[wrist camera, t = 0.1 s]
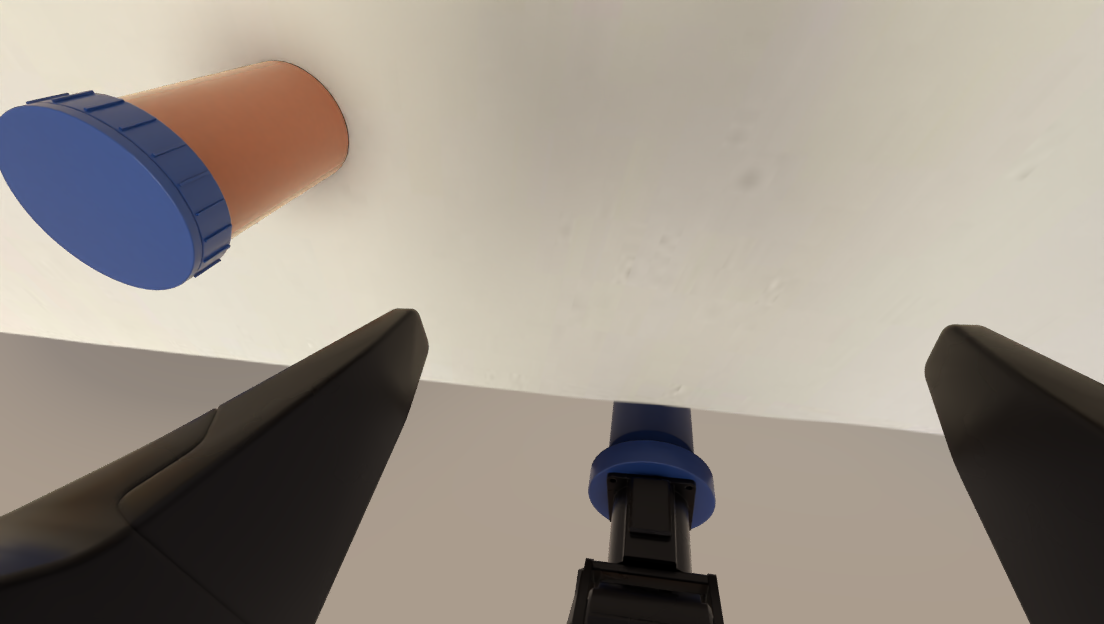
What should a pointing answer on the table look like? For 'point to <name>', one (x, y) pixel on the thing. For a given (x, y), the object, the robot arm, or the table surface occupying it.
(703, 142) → the table surface
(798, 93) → the table surface
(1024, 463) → the robot arm
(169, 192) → the lid
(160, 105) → the jar
